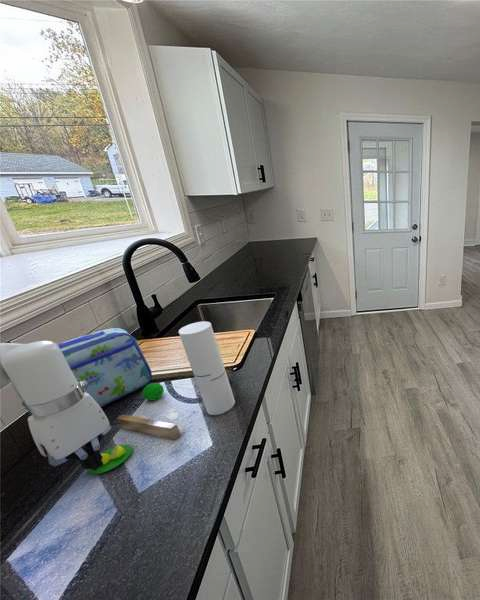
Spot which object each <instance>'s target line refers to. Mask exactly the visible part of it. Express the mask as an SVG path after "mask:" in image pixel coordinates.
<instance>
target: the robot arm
mask: <svg viewBox="0 0 480 600" xmlns="http://www.w3.org/2000/svg"><path fill="white" fill-rule="evenodd" d="M57 344H58V343H56V342H54V341H50V340H40V341H33V342H29V343H13V342H12V343H11V342H0V389H2V388H3V387H5V386H6V385H8V384H10V383H11V384H12V383H13V385H14V386H15V388H16V389H17V391H18V393H19V394H20V396H21V397H22V399H23V401H24V402H25V404H26V405H27V407H28V409H29V410H30V412H31V413H32V416H31V415H30V416H28V418H27V424H28V428H29V431H30V434H31V437H32V439H33V441H34V444H35V445H36V447H37V449H38V451H39V453H40V454H41V455H42V456H43V457H45V458H47V459H48V464H49V465H50V466H51V467H58V466H59V465H62V464H64V463H66V462H67V461H73V460H76V461H78V463H79V464H80V465H81V468H83V469H84V470H87V471H88V469H92V470H97V469H98V467H100V466H102V465H103V462H102V460H101V459H102V458H103V457H102V455H101V454H100V453H101V452H100V450H99V449H100V448H101V442H102V440H103V437H104V436H105V435H106V434H107V433H108V432H110V431H111V430H112V426H111V425H110V421H109V419H108V416H107V415H106V414H105V411H104V410H103V408H102V407H100V406H99V405H98V404H97V402H96V401H95V400H94V399H93V398H92V397H91V396H90V395H89V394H88V393H86V392H84V390H83V388H85V386H87V385H88V382H87V381H85V380H84V381H82V382H77V380H76V378H75V376H74V374H73V372H72V370H71V368H70V367H69V365H68V363H67V361H66V359H65V357H64V355H63V353H62V351H61V349H60V348H59V346H58V345H57ZM28 409H27V410H28ZM82 447H84V448H85V449H83V448H82Z"/></svg>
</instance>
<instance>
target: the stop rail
mask: <svg viewBox="0 0 480 600" xmlns="http://www.w3.org/2000/svg"><path fill="white" fill-rule="evenodd" d="M116 419H117V421H118V423H119V425H120V427H121V429H122V430H127V431H132V432H137V433H141V434H146V435H151V436H156V437H161V438H165V439H170V440H177V439H178V438H179V437H180V436H181V435H182V434H181V432H180V429H179V427H178V424H176V423H173V422H172V423H171V422H167V421H162V420H157V419H151V418H146V417H141V416H137V415H136V416H135V415H131V414H125V413H124V414H122V415H120V416H118V417H116Z"/></svg>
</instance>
